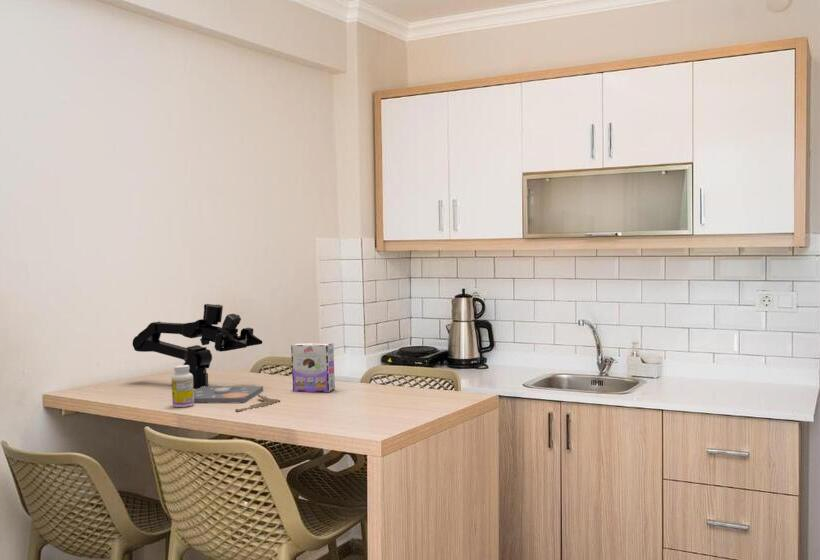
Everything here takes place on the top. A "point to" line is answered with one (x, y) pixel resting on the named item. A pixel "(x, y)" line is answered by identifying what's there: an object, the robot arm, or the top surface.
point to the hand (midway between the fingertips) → (254, 344)
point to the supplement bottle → (182, 387)
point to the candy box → (313, 367)
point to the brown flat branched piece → (266, 402)
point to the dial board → (225, 394)
